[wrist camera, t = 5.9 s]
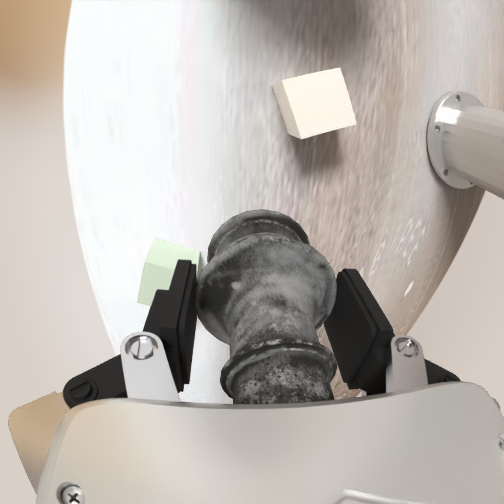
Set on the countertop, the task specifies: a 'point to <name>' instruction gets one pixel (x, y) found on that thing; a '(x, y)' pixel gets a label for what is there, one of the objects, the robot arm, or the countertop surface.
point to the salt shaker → (268, 309)
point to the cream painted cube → (314, 103)
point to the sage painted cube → (162, 267)
